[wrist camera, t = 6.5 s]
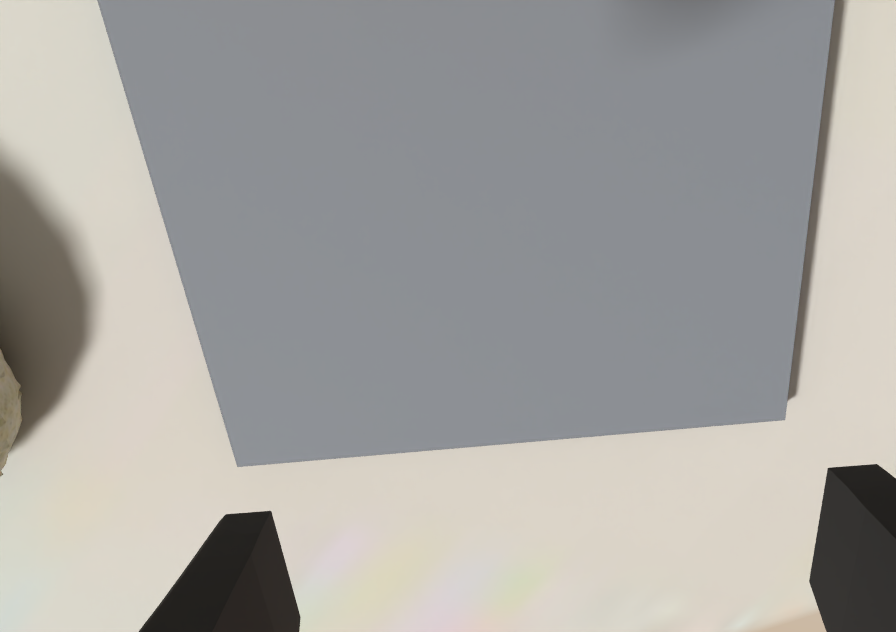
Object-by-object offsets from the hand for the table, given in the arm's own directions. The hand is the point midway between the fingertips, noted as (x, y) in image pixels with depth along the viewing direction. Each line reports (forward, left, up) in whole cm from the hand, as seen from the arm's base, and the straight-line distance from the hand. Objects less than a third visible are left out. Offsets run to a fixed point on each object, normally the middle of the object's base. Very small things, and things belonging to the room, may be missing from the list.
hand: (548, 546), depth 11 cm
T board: (0, -6, -9) cm, 11 cm away
